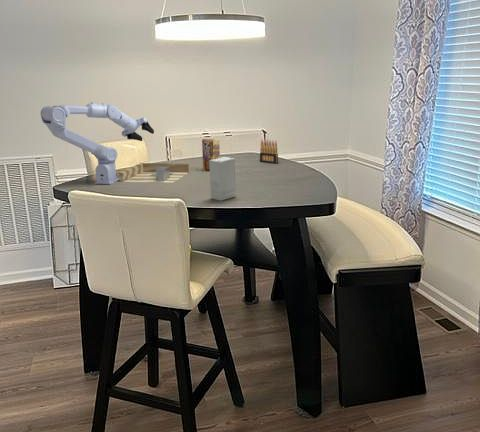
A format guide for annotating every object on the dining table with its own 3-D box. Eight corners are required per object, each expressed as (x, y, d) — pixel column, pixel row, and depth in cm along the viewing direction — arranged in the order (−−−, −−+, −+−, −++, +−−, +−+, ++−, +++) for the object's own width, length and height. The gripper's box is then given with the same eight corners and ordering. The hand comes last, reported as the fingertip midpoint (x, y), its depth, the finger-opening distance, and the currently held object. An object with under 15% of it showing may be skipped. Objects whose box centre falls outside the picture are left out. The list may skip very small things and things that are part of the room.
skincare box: (225, 194, 196) (224, 156, 192) (236, 196, 192) (235, 157, 188) (209, 198, 190) (208, 159, 186) (221, 201, 186) (219, 161, 182)
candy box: (221, 171, 242) (219, 139, 238) (213, 173, 239) (212, 140, 235) (209, 169, 249) (208, 138, 244) (202, 170, 246) (201, 139, 242)
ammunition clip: (259, 162, 265) (259, 139, 262) (261, 161, 267) (261, 138, 264) (276, 164, 259) (276, 140, 255) (278, 163, 260) (278, 140, 257)
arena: (173, 184, 216) (172, 173, 215) (120, 183, 221) (119, 172, 220) (189, 173, 239) (188, 163, 238) (141, 172, 244) (140, 163, 243)
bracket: (163, 181, 219) (163, 170, 218) (151, 181, 220) (151, 169, 219) (169, 177, 227) (169, 166, 225) (158, 177, 228) (157, 166, 226)
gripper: (136, 106, 224) (158, 121, 234) (114, 122, 231) (136, 135, 241) (136, 119, 221) (158, 133, 231) (113, 134, 228) (136, 147, 238)
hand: (147, 135), depth 236 cm, fingers open, 7 cm apart
